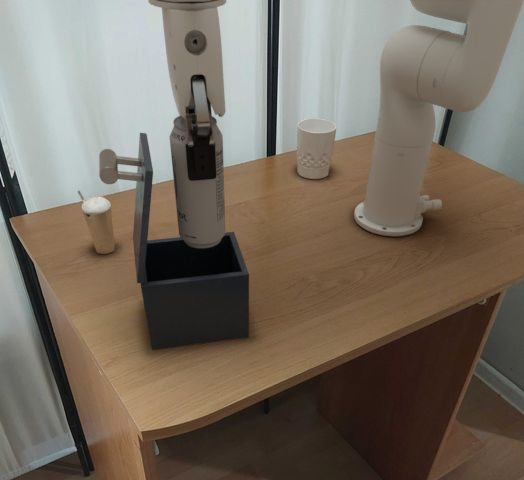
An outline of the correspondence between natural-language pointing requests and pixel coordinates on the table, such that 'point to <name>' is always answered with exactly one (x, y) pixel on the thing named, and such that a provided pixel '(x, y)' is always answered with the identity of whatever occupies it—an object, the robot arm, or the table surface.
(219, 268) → the bin
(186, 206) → the energy drink can
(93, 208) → the milkshake
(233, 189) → the table surface
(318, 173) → the white cup
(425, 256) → the table surface
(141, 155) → the lid
